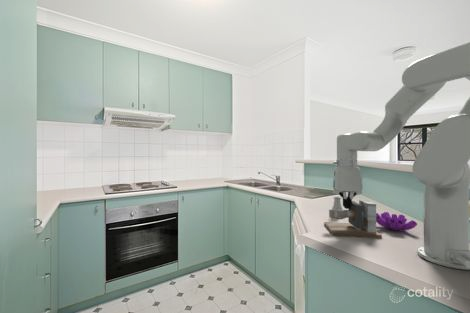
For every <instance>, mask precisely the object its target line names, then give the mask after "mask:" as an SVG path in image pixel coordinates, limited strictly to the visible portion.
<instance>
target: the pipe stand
mask: <svg viewBox="0 0 470 313" xmlns="http://www.w3.org/2000/svg"><path fill="white" fill-rule="evenodd" d="M358 202H359V203H358V204H360V205H362V229H357V228H356V227H354V226H353V225H352V224H351V223H349V222H334V221H333V222H332V221H331V222H330V221H324V222H323V224H324V226H325V228H326V229H327V230H328V231H329V233H331V235H332V236H333V237H349V238H364V237H367V239H383V236H382V235H383V234H381V233H379V232H378V231H377V222H376V213H377V203H375V202H372V201H370V200H367V199H359V200H358ZM328 216H329V217H330V218H334V217H344V218H347V219H348V218H354V210H348V209H343V210H332V209H329V210H328ZM344 218H343V219H344Z"/></svg>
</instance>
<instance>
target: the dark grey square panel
mask: <svg viewBox="0 0 470 313" xmlns="http://www.w3.org/2000/svg"><path fill="white" fill-rule="evenodd" d="M347 210H354V218H347V219H348V222H347V223H351V224H352V225H353V226H354V227H356V228H357V229H362V205H360V204H359V203H358V202H356V201H355V200H352V207H351V209H347Z"/></svg>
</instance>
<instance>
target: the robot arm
mask: <svg viewBox="0 0 470 313" xmlns="http://www.w3.org/2000/svg"><path fill="white" fill-rule="evenodd" d="M463 78H465V79H467V80H468V81H470V41H469V42H467V43H463V44H460V45H458V46H455V47H452V48H449V49H446V50H443V51H440V52H437V53H434V54H431V55H429V56H426V57H423V58H421V59H418V60H416V61H414V62H412V63H411V64H409V66H407V67H406V68H405V70H404V71H403V72H402V76H401V82H402V84H403V85H402V87H401V88H400V89H399V90H397V92H396V93H395V94H394V95H393V96H392V97H391V98H390V99H389V100H388V101H387V102H386V104H385V105H384V112H385V114H384V118H383V120H382V121H381V123H380V124H379V125H378V126H377V127H376V128H375V129H374V130H373V131H357V132H354V133H342V134H339V135H338V136H336V160H335V161H334V160H333V162H332V164H333V165H335V167H334V171H333V183H332V184H333V186H332V187H333V191H332V193H333V194H335V195H337V196H338V195H339V197H340V198H341V199H342V207H343V208H344V209H345V210H348V209H351V207H352V201H353V200H354V198H355V197H356V196H359V195H362V194H363V188H364V187H363V177H362V171H361V168H360V167H358V152H378V151H380V150H382V149H384V148H385V147H386V146H387V145H389V143H390V142H392V141H393V140H394V139H395V138H396V137H397V136H398V135H399V134H400V132H401V131H402V130H403V128H404V127H405V125H406V124H407V123H408V121H409V119H410V118H411V117H412V116H413V115H415V113H416V112H418V110H420V109H421V108H422V107H423V106H424V105H425V104H426V103H427V102H428V101H429V100H430V99H432V98H433V97H434V96H435V95H436V94H437V93H438V92H439V91H440V90H441V89H442V88H443V87H444V86H445V85H446V83H447V82H451V81H452V82H453V81H455V80H460V79H463ZM469 161H470V96H469V98H468V99H467V100H466V102H465V103H464V105H463V107H462V108H461V109H460V111H459V113H458V114H455V115H450V116H449V117H446V118H445V119H443V120H441V122H439V123H438V124H437V125H436V126H435V128H434V129H433V130H432V132H431V133H430V136H429V137H428V138H427V139H426V142H425V143H424V145H423V146H422V147H421V149H420V151H419V152H418V154H417V155H416V157H415V158H414V162H412V163H413V164H412V168H411V169H412V174H413V176H414V177H415V179H416V180H417V181H418V182H420V183H421V184H423V185H424V187H423V198H422V199H423V207H422V208H423V209H422V210H423V213H422V214H423V246H420V247H418V248H417V251H416V252H417V254H418V255H419V257H421V258H422V259H425V260H426V261H429V262H430V263H433V264H436V265H439V266H443V267H446V268H451V269H456V270H464V271H465V270H467V271H470V217H469V216H470V212H469V211H470V165H469V164H468V162H469Z"/></svg>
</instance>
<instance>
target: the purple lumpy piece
mask: <svg viewBox="0 0 470 313" xmlns="http://www.w3.org/2000/svg"><path fill="white" fill-rule="evenodd" d="M407 220H408V219H407V218H406V216H405V215H404V214H399V215H397V213H392V214H390V213H389V212H388V211H387V212H386V211H385V212H382V213H378V212H376V224H378V225H379V226H381V227H384V228H385V229H389V230H394V231H410V230H412V229H414V228H416V227H417V226H418V222H416V221H415V220H410V221H408V222H407Z"/></svg>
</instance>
